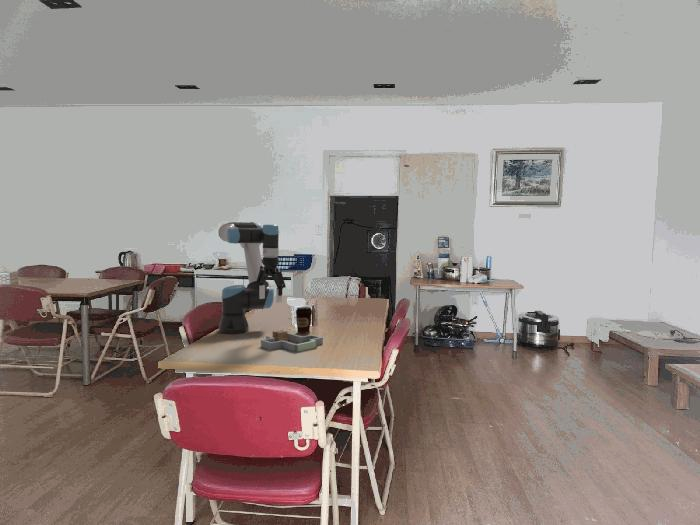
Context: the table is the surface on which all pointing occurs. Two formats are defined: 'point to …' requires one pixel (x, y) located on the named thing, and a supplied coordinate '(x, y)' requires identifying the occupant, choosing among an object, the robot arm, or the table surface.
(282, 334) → the walnut block
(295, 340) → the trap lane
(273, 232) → the robot arm
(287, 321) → the table surface
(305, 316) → the coffee cup
